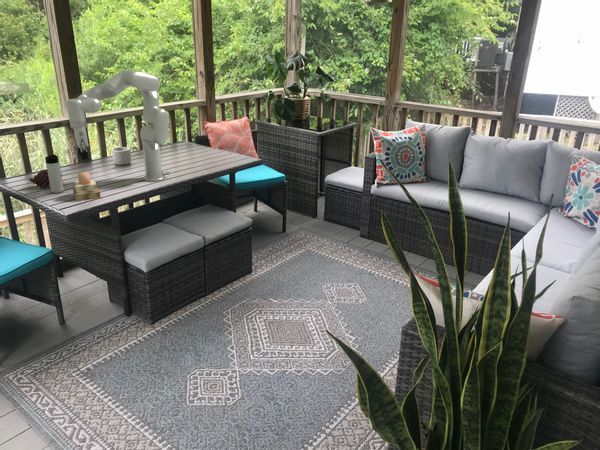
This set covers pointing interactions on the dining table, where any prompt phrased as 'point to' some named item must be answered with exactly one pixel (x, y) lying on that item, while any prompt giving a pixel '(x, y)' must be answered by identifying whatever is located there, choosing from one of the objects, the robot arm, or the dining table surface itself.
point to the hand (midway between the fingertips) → (83, 157)
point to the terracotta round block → (84, 178)
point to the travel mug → (54, 174)
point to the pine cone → (41, 179)
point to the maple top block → (85, 187)
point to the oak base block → (86, 195)
